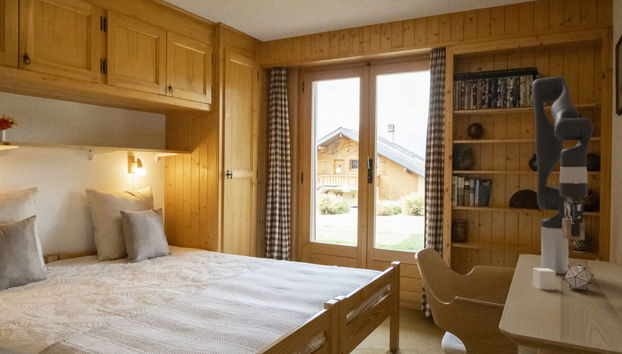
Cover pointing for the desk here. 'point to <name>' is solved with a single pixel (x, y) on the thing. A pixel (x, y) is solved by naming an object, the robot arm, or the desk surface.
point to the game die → (577, 277)
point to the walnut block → (567, 229)
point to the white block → (544, 278)
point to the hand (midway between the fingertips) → (573, 234)
